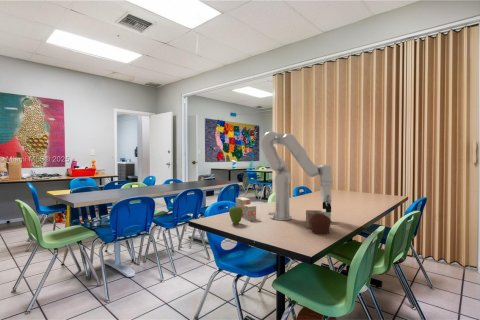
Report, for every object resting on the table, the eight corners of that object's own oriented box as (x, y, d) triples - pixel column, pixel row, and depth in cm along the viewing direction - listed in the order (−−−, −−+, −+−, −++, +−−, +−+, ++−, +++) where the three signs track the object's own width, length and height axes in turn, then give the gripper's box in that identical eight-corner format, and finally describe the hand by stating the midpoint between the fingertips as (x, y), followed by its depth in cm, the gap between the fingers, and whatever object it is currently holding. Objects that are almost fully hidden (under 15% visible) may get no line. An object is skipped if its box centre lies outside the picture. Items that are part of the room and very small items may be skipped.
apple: (244, 222, 174) (244, 204, 174) (240, 225, 166) (240, 207, 165) (231, 221, 176) (231, 204, 176) (227, 225, 168) (227, 206, 168)
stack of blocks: (256, 219, 181) (256, 201, 181) (247, 220, 179) (247, 202, 179) (243, 213, 201) (243, 196, 201) (235, 214, 199) (235, 197, 198)
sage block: (321, 222, 172) (321, 211, 171) (320, 220, 177) (320, 210, 177) (330, 222, 171) (330, 211, 171) (328, 220, 177) (328, 210, 176)
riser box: (308, 228, 158) (308, 213, 158) (306, 224, 167) (305, 210, 167) (324, 229, 157) (324, 213, 157) (320, 225, 166) (320, 210, 166)
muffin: (306, 232, 150) (306, 215, 150) (314, 228, 158) (314, 211, 158) (326, 237, 142) (326, 218, 142) (334, 232, 151) (334, 214, 150)
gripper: (317, 182, 182) (318, 208, 183) (322, 185, 165) (323, 213, 165) (328, 182, 182) (329, 207, 182) (335, 185, 164) (336, 213, 165)
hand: (326, 210), depth 174 cm, fingers open, 9 cm apart
